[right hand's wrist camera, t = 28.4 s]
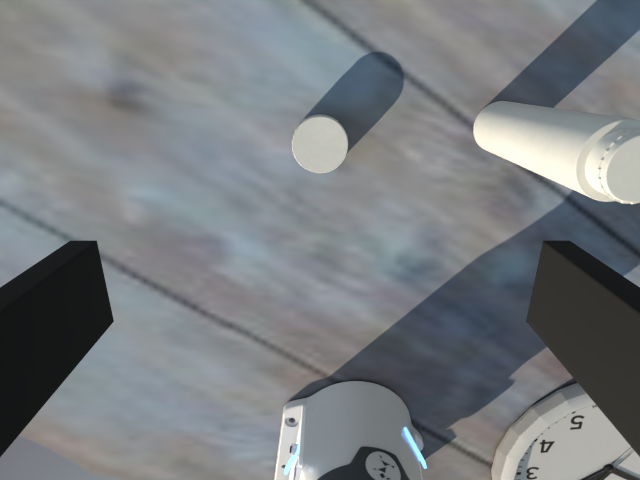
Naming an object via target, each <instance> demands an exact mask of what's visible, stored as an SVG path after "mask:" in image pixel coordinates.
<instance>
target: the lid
mask: <svg viewBox="0 0 640 480" xmlns="http://www.w3.org/2000/svg"><path fill="white" fill-rule="evenodd" d="M295 130H296V131H295V133H294V134H293V139H292V149H293V154H294V156H295V159H296V160H297V161H298V163H299V164H300V165H301V166H302V167H304V168H305V169H307V170H308V171H311V172H314V173H326V172H329V171H332V170H334V169H335V168H337V167H338V166H339V165H340V164H341V163H342V162H343V160H344V159H345V157H346V155H347V151H348V143H349V142H348V139H347V137H348V136H347V134H346V133H345V129H344V128H343V127H342V124H340V123H339V122H338V120H337V119H334V118H333V117H332V116H331V117H330V116H327V114H326V115H322V114H318V115H315V114H314V115H313V116H309V117H308V118H306V119H304V120H303V121H302V122H301V123H299V126H298V127H296V129H295Z"/></svg>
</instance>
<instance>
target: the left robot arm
mask: <svg viewBox="0 0 640 480" xmlns="http://www.w3.org/2000/svg"><path fill="white" fill-rule="evenodd" d="M291 418H294V419H291ZM423 446H424V444H423V438H422V436H421V434H420V433H419V432H418V431H417V430H416V429H415V428H414V427H413V425H412V422H411V418H410V414H409V411H408V409H407V407H406V405H405V403H404V402H403V401H402V399H401V398H400V397H399V396H398V395H396V394H395V393H394V392H392V391H391V390H389V389H387V388H385V387H383V386H381V385H378V384H375V383H371V382H364V381H347V382H341V383H337V384H333V385H330V386H328V387H326V388H324V389H322V390H320V391H318V392H317V393H315V394H313V395H312V396H310V397H307V398H302V399H297V400H293V401H290V402H288V403H286V404H285V406H284V408H283V415H282V423H281V430H280V438H279V446H278V453H277V461H276V468H275V476H274V480H423V479H422V472H421V466H420V462H421V463H422V465H423V467H424V469H425V468H427V467H426V463H425V460H424V458H423V457H422V455H421V453H420V451H421V450H422V449H423Z"/></svg>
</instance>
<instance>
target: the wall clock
mask: <svg viewBox="0 0 640 480" xmlns="http://www.w3.org/2000/svg"><path fill="white" fill-rule="evenodd" d="M491 473H492V480H640V457H639V456H638V454H637V453H636V452H635V451H634V450H633V448H632V447H631V446H630V445H629V444H628V442H627V441H626V440H625V439H624V438H623V436H622V435H621V434H620V433H619V432H618V430H617V429H616V428H615V427H614V426H613V424H612V423H611V422H610V421H609V420H608V418H607V417H606V416H605V415H604V414H603V412H602V411H601V410H600V409H599V408H598V406H597V405H596V404H595V403H594V402H593V400H592V399H591V398H590V397H589V396H588V394H587V393H586V392H585V391H584V390H583V389H582V387H581V386H580V385H579V384H578V383H575V384H573V385H570V386H567V387H565V388H562V389H559V390H557V391H556V392H554V393H553V394H551V395H549V396H548V397H546V398H545V399H543V400H541V401H540V402H538V403H536V404H535V405H533V406H532V407H530V408H529V409H528V410H527V411H526V412H525V413H524V414H523V415H522V416H521V417H520V418H519V419H518V420H517V421H516V422H515V423H514V424H513V425H512V426H511V427H510V428H509V430H508V431H507V433H506V435H505V436H504V438H503V439H502V441H501V443H500V444H499V446H498V447H497V450H496V454H495V457H494V461H493V465H492V469H491Z"/></svg>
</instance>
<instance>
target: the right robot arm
mask: <svg viewBox="0 0 640 480" xmlns="http://www.w3.org/2000/svg"><path fill="white" fill-rule="evenodd" d="M113 322H114V321H113V316H112V311H111V307H110V302H109V297H108V292H107V288H106V283H105V278H104V273H103V269H102V264H101V259H100V254H99V250H98V245H97V241H69V242H68V243H66V244H65V245H63V246H62V247H60V248H59V249H57V250H56V251H54V252H53V253H51V254H50V255H48V256H47V257H45V258H44V259H42V260H41V261H39V262H38V263H36V264H35V265H33V266H32V267H30V268H29V269H27V270H26V271H24V272H23V273H21V274H20V275H18V276H17V277H15V278H14V279H12V280H11V281H9V282H8V283H6V284H5V285H3V286H2V287H0V457H1V456H2V454H3V453H4V452H5V451H6V449H7V448H8V447H9V446H10V445H11V444H12V442H13V441H14V440H15V439H16V438H17V436H18V435H19V434H20V433H21V432H22V430H23V429H24V428H25V427H26V426H27V424H28V423H29V422H30V421H31V420H32V418H33V417H34V416H35V415H36V414H37V412H38V411H39V410H40V409H41V408H42V406H43V405H44V404H45V403H46V402H47V400H48V399H49V398H50V397H51V396H52V394H53V393H54V392H55V391H56V390H57V389H58V387H59V386H60V385H61V384H62V383H63V381H64V380H65V379H66V378H67V377H68V375H69V374H70V373H71V372H72V371H73V369H74V368H75V367H76V366H77V365H78V363H79V362H80V361H81V360H82V359H83V357H84V356H85V355H86V354H87V353H88V351H89V350H90V349H91V348H92V347H93V345H94V344H95V343H96V342H97V341H98V339H99V338H100V337H101V336H102V335H103V333H104V332H105V331H106V330H107V329H108V327H109V326H110V325H111V324H112V323H113ZM526 322H527V323H528V324H529V325H530V326H531V327H532V329H533V330H534V331H535V332H536V333H537V335H538V336H539V337H540V338H541V339H542V341H543V342H544V343H545V344H546V345H547V347H548V348H549V349H550V350H551V351H552V353H553V354H554V355H555V356H556V357H557V359H558V360H559V361H560V362H561V363H562V365H563V366H564V367H565V368H566V369H567V371H568V372H569V373H570V374H571V375H572V377H573V378H574V379H575V380H576V381H577V383H578V384H579V385H580V386H581V387H582V389H583V390H584V391H585V392H586V393H587V394H588V396H589V397H590V398H591V399H592V400H593V402H594V403H595V404H596V405H597V406H598V408H599V409H600V410H601V411H602V412H603V414H604V415H605V416H606V417H607V418H608V420H609V421H610V422H611V423H612V424H613V426H614V427H615V428H616V429H617V430H618V432H619V433H620V434H621V435H622V436H623V438H624V439H625V440H626V441H627V442H628V444H629V445H630V446H631V447H632V448H633V450H634V451H635V452H636V453H637V454H638V456H639V457H640V287H638V286H637V285H635V284H634V283H632V282H631V281H629V280H628V279H626V278H625V277H623V276H622V275H620V274H619V273H617V272H616V271H614V270H613V269H611V268H610V267H608V266H607V265H605V264H604V263H602V262H601V261H599V260H598V259H596V258H595V257H593V256H592V255H590V254H589V253H587V252H586V251H584V250H583V249H581V248H580V247H578V246H577V245H575V244H574V243H572V242H571V241H543V245H542V250H541V254H540V259H539V264H538V269H537V273H536V278H535V283H534V288H533V292H532V297H531V302H530V306H529V311H528V316H527V321H526Z"/></svg>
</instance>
